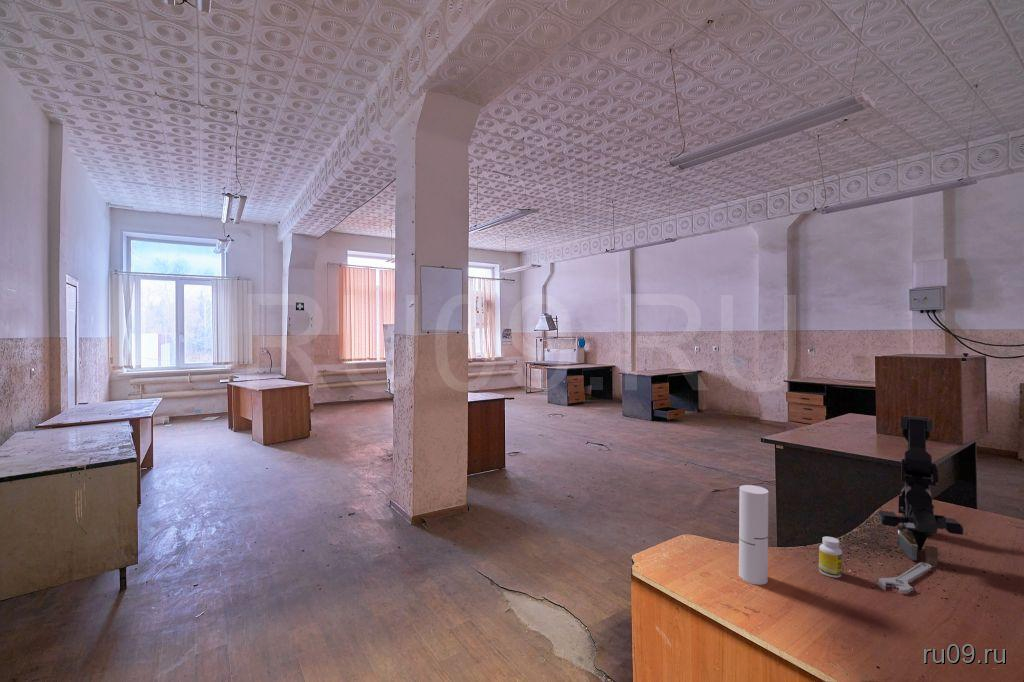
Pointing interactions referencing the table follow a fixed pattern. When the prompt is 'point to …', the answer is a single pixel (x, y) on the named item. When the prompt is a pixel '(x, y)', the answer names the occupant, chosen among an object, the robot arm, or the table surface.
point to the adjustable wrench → (905, 578)
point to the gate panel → (907, 544)
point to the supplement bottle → (830, 557)
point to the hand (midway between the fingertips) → (919, 550)
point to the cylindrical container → (753, 534)
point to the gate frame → (927, 552)
